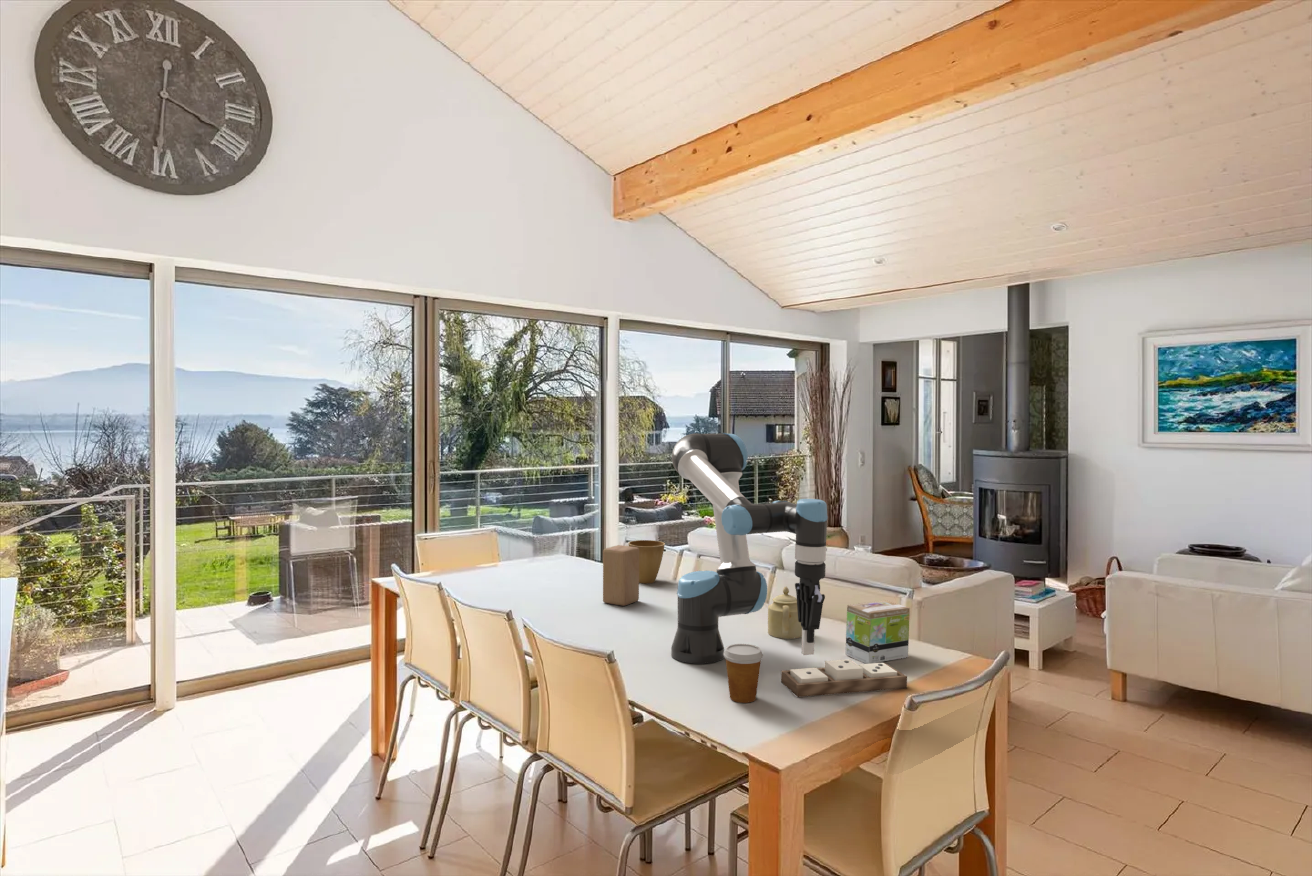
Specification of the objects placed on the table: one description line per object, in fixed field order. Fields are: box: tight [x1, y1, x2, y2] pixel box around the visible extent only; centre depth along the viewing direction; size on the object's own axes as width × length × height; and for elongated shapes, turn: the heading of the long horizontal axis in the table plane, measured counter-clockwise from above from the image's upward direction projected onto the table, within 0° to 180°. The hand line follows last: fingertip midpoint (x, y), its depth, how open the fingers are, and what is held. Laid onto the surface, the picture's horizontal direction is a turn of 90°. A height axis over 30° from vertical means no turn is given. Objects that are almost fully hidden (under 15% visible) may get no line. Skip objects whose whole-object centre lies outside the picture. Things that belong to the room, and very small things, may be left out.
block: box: [602, 544, 640, 607], centre depth 272 cm, size 10×10×20 cm
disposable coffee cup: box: [724, 643, 764, 704], centre depth 180 cm, size 10×10×12 cm
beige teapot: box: [767, 586, 802, 640], centre depth 232 cm, size 15×11×15 cm
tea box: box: [845, 599, 911, 664], centre depth 212 cm, size 15×10×15 cm, turn 117°
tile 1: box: [789, 667, 828, 683], centre depth 187 cm, size 7×7×3 cm
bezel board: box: [780, 662, 908, 698], centre depth 189 cm, size 30×10×3 cm, turn 103°
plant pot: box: [628, 539, 666, 584], centre depth 306 cm, size 15×15×16 cm
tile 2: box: [824, 658, 863, 681], centre depth 189 cm, size 7×7×3 cm
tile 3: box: [858, 662, 898, 678], centre depth 191 cm, size 7×7×3 cm
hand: (807, 653), depth 188 cm, fingers closed
